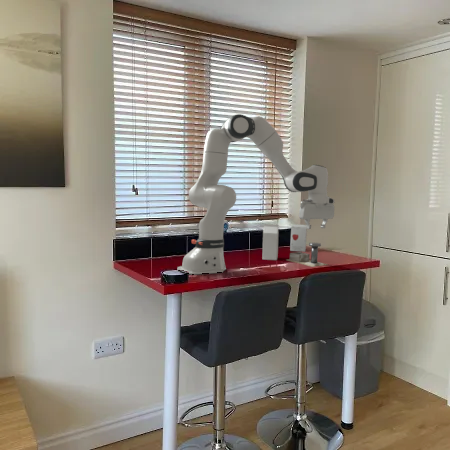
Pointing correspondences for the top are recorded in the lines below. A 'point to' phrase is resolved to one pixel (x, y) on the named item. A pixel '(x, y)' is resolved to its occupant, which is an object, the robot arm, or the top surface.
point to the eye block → (303, 259)
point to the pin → (314, 252)
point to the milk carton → (270, 242)
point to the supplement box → (298, 238)
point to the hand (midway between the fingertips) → (315, 228)
